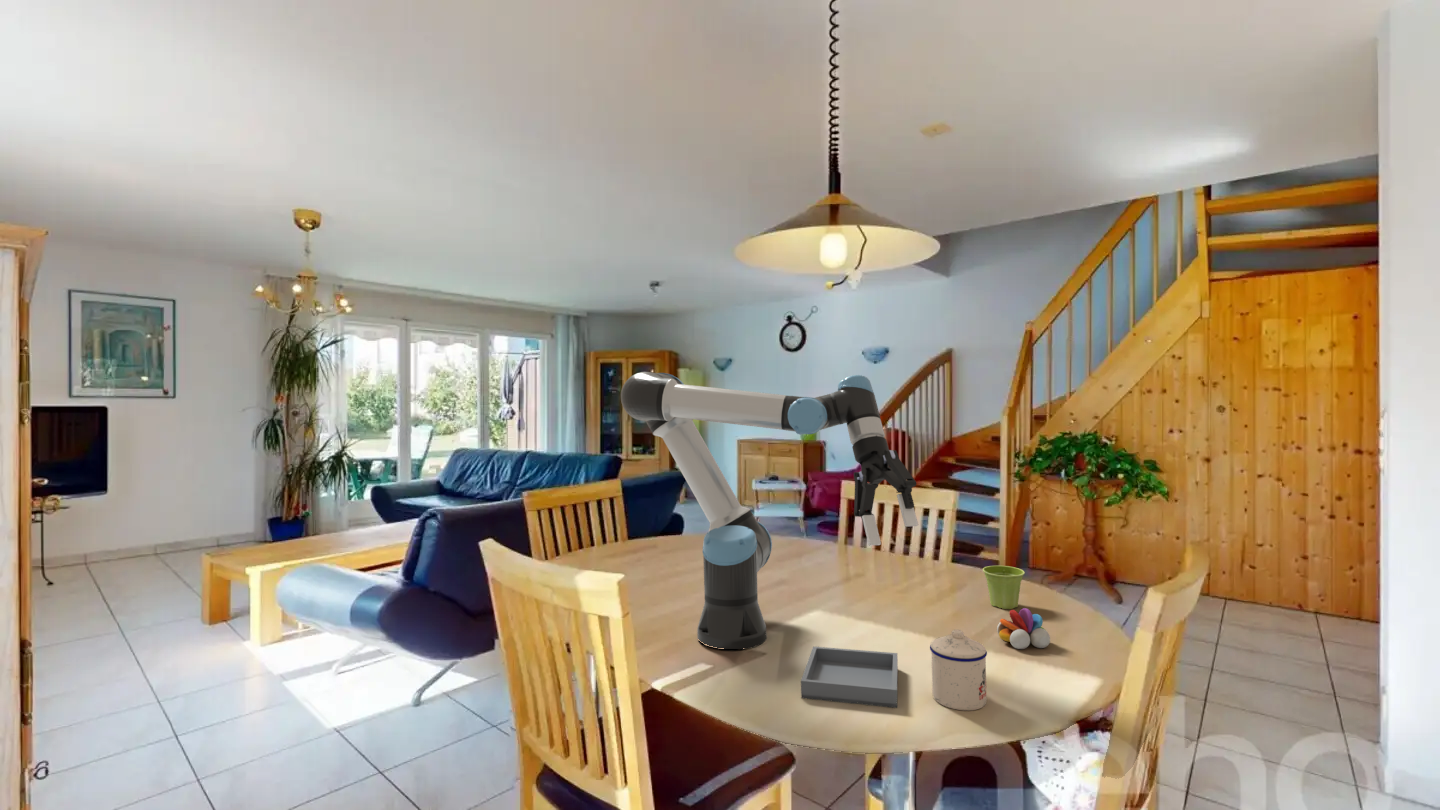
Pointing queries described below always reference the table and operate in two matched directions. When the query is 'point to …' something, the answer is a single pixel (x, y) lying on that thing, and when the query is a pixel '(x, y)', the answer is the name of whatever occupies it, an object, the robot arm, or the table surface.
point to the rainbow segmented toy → (1023, 630)
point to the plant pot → (1003, 585)
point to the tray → (851, 676)
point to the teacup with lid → (959, 671)
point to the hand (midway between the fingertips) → (892, 535)
